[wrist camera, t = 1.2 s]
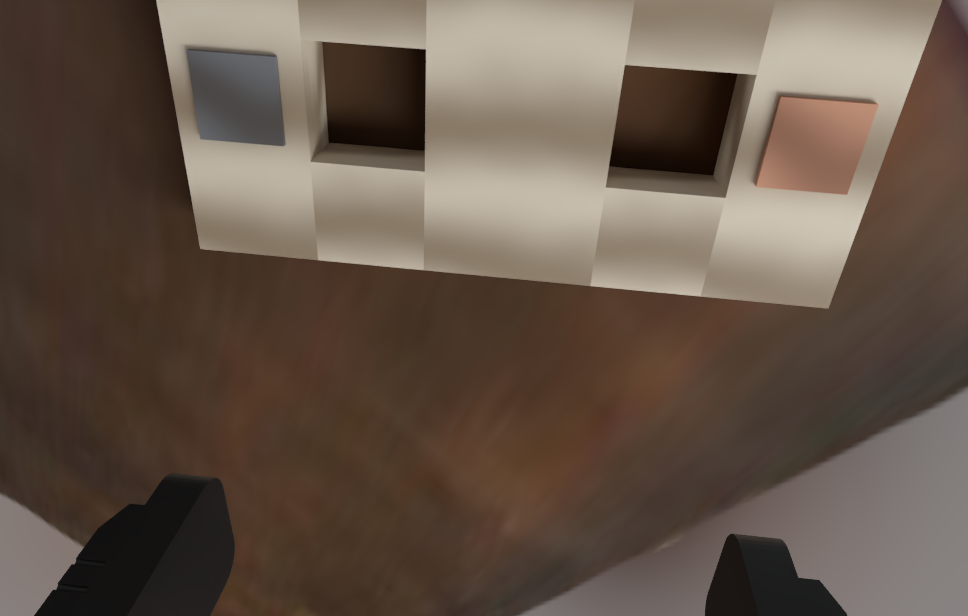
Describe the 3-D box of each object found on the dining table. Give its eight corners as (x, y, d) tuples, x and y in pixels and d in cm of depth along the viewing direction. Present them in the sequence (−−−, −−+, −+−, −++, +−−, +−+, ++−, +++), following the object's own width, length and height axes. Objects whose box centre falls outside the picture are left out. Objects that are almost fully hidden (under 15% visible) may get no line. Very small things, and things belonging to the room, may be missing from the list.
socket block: (172, -111, 30) (132, -111, 27) (926, -61, 28) (966, -56, 25) (224, 225, 38) (197, 251, 35) (809, 279, 37) (830, 311, 34)
